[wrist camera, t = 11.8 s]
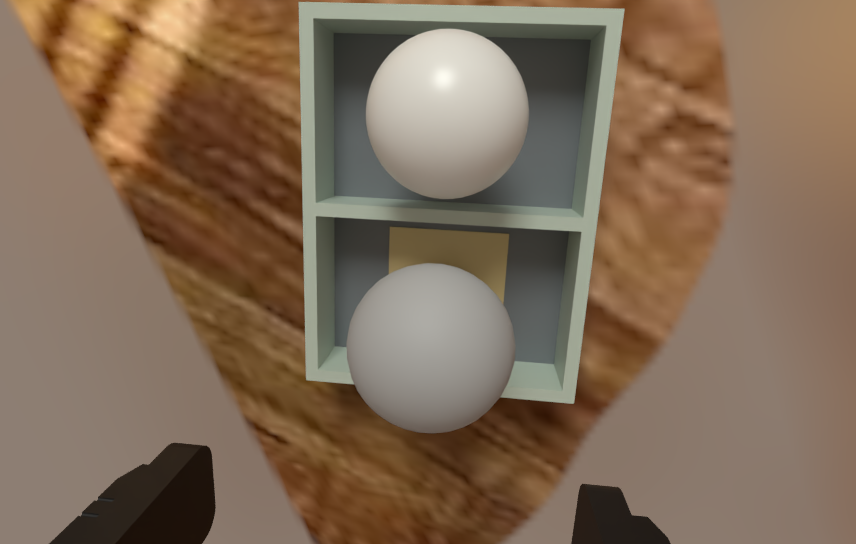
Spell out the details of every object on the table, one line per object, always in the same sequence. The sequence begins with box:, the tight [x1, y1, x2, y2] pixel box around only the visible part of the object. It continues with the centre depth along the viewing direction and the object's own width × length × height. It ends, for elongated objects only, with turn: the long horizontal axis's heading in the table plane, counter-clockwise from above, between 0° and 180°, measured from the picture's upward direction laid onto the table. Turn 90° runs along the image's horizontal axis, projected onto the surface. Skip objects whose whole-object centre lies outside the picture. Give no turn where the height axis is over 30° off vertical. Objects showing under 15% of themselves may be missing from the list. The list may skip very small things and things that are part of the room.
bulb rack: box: [299, 2, 624, 404], centre depth 22 cm, size 13×17×10 cm
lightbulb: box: [346, 263, 516, 433], centre depth 21 cm, size 6×6×11 cm
